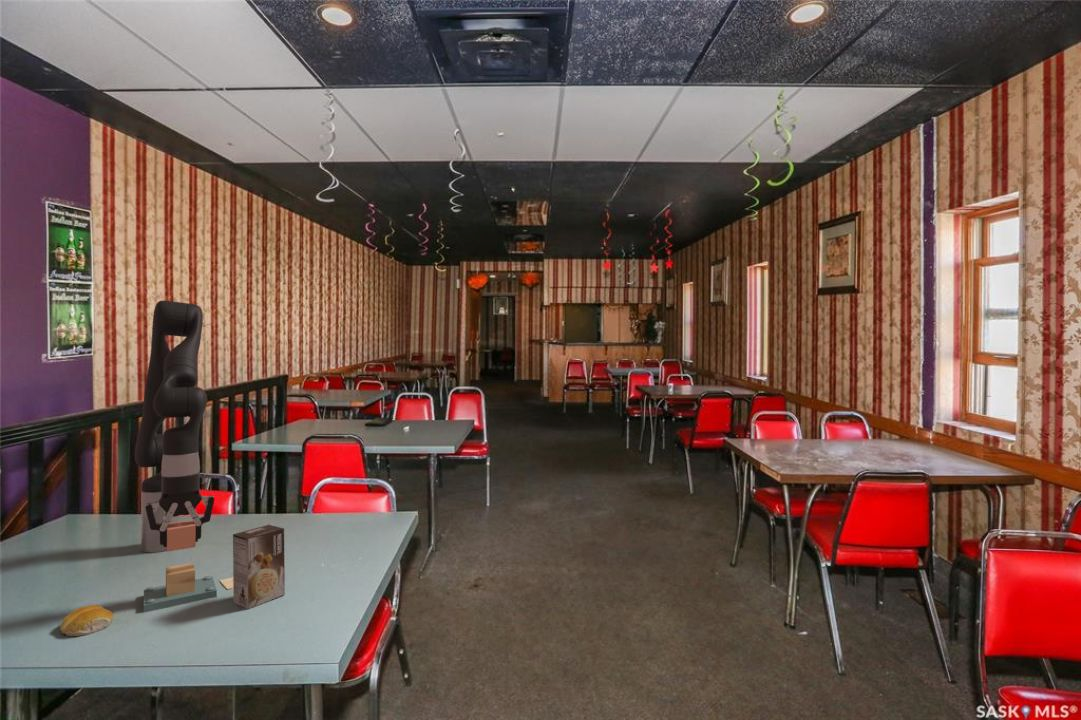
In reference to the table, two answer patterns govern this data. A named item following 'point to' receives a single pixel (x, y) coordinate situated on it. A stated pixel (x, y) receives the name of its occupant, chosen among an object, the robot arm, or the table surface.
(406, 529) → the table surface
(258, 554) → the coffee box
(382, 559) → the table surface
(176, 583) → the oak brick
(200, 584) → the board
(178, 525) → the terracotta brick
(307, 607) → the table surface
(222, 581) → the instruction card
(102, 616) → the bread roll
